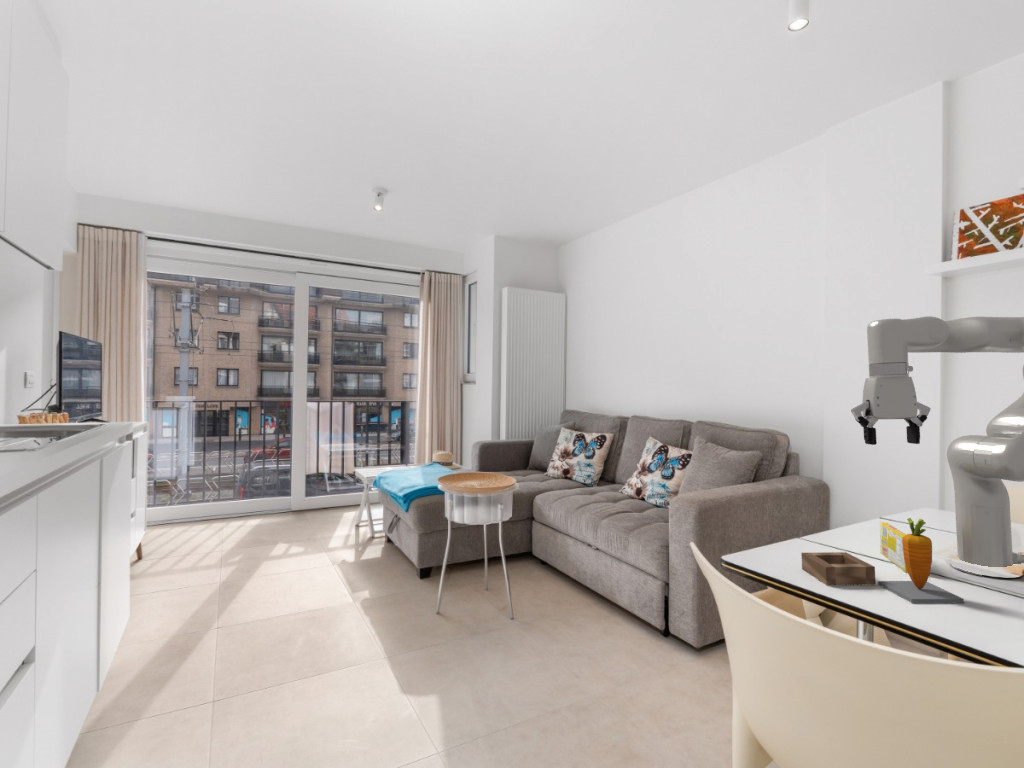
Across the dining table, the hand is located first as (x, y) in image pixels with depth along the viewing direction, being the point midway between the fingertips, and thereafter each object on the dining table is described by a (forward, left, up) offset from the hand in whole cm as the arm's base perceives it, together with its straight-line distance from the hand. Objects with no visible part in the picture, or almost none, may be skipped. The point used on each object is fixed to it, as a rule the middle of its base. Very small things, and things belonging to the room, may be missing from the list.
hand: (892, 443), depth 118 cm
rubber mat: (+4, +12, -30) cm, 33 cm away
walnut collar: (+15, +2, -30) cm, 34 cm away
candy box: (-5, -8, -31) cm, 32 cm away
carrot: (+4, +12, -30) cm, 32 cm away
